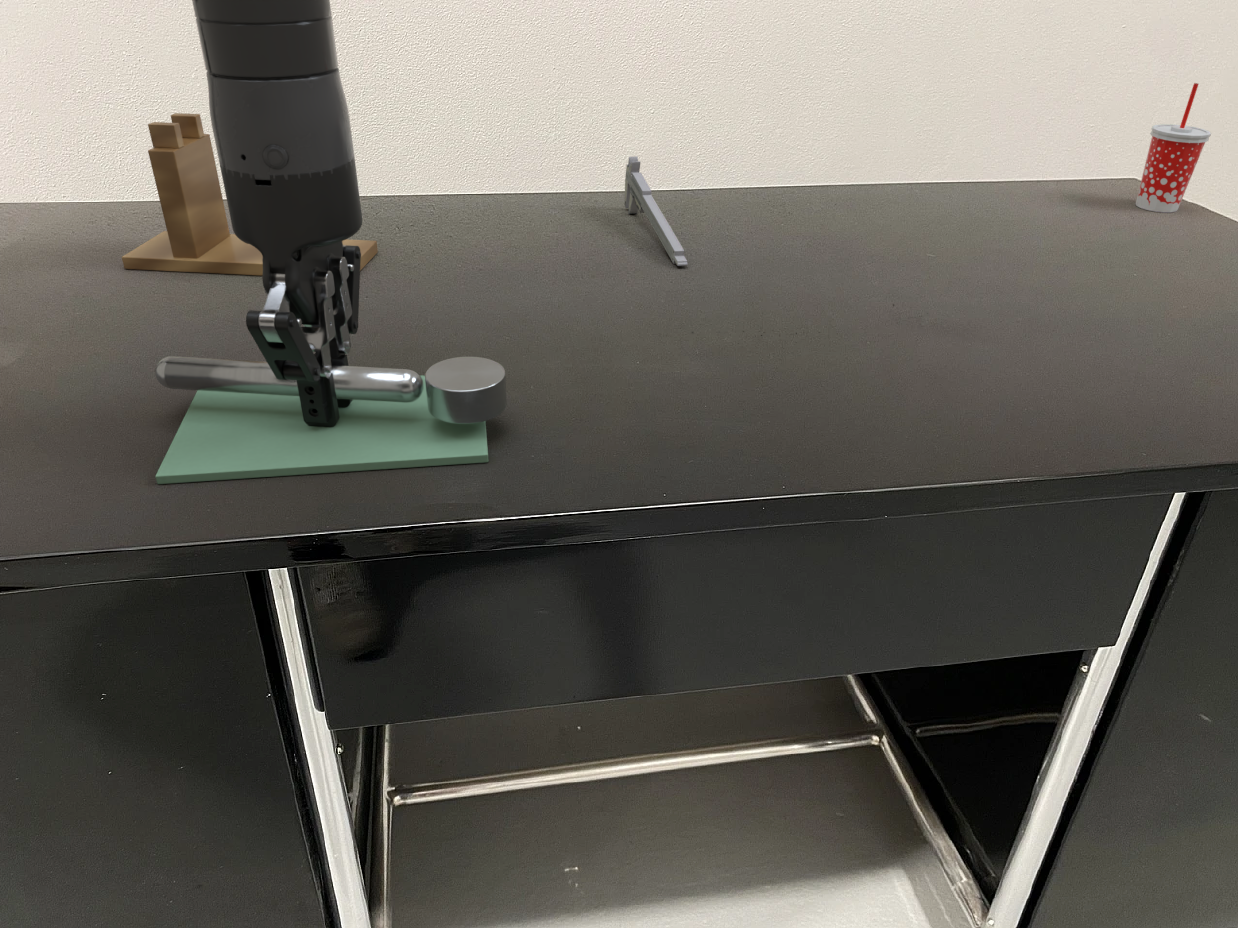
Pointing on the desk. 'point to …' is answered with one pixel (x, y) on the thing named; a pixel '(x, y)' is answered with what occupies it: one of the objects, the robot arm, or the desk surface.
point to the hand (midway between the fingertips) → (329, 413)
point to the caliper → (650, 210)
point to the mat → (311, 439)
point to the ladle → (358, 383)
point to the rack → (197, 209)
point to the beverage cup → (1170, 163)
